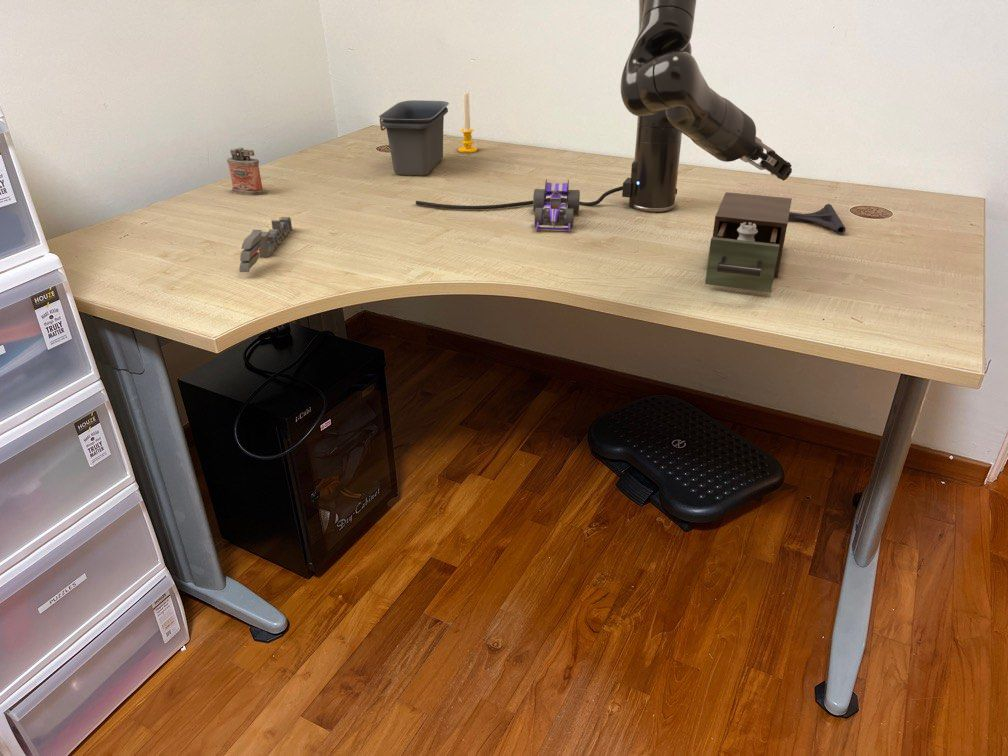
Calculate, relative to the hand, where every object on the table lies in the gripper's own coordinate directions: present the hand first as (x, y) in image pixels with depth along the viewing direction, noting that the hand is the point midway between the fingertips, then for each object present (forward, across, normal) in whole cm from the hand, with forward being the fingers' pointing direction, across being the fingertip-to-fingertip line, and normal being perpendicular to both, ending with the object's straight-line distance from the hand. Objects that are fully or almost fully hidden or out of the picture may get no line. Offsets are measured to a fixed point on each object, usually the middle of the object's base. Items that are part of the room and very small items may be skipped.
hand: (767, 163), depth 126 cm
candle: (+18, +94, +34) cm, 101 cm away
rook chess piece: (0, -8, +17) cm, 18 cm away
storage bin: (0, +87, +42) cm, 96 cm away
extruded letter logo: (-47, +48, +59) cm, 90 cm away
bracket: (+32, +7, +5) cm, 34 cm away
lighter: (-36, +89, +63) cm, 115 cm away
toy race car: (-1, +34, +30) cm, 45 cm away
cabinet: (+10, -1, +15) cm, 18 cm away
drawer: (0, -8, +18) cm, 20 cm away
